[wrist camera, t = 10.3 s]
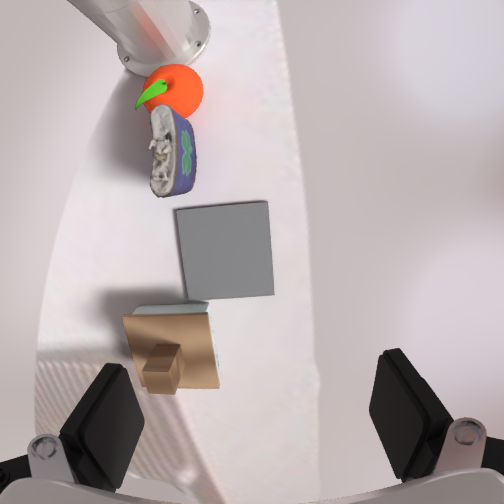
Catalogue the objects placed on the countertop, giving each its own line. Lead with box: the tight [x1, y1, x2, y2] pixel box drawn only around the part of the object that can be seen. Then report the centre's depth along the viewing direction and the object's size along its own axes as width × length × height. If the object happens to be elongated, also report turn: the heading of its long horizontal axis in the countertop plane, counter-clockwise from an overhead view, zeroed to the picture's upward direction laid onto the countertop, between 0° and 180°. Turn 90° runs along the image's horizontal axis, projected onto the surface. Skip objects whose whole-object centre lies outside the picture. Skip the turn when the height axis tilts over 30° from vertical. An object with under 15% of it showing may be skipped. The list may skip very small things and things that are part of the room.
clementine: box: [135, 64, 203, 118], centre depth 30 cm, size 8×7×7 cm
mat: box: [176, 202, 274, 301], centre depth 37 cm, size 12×11×1 cm
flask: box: [148, 104, 197, 198], centre depth 30 cm, size 9×3×11 cm, turn 1°
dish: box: [132, 303, 219, 372], centre depth 38 cm, size 10×10×4 cm
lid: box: [122, 312, 220, 395], centre depth 33 cm, size 11×11×7 cm
